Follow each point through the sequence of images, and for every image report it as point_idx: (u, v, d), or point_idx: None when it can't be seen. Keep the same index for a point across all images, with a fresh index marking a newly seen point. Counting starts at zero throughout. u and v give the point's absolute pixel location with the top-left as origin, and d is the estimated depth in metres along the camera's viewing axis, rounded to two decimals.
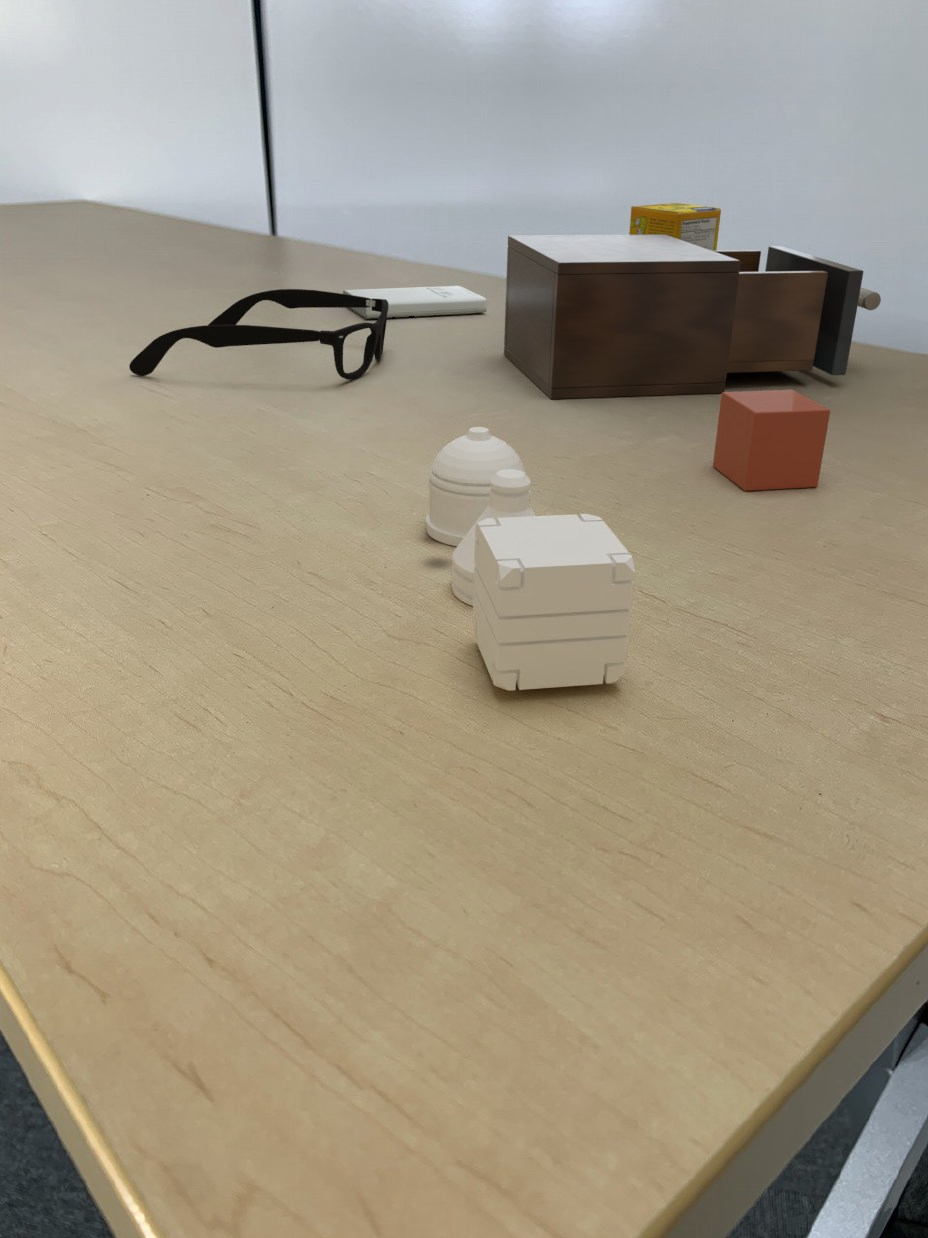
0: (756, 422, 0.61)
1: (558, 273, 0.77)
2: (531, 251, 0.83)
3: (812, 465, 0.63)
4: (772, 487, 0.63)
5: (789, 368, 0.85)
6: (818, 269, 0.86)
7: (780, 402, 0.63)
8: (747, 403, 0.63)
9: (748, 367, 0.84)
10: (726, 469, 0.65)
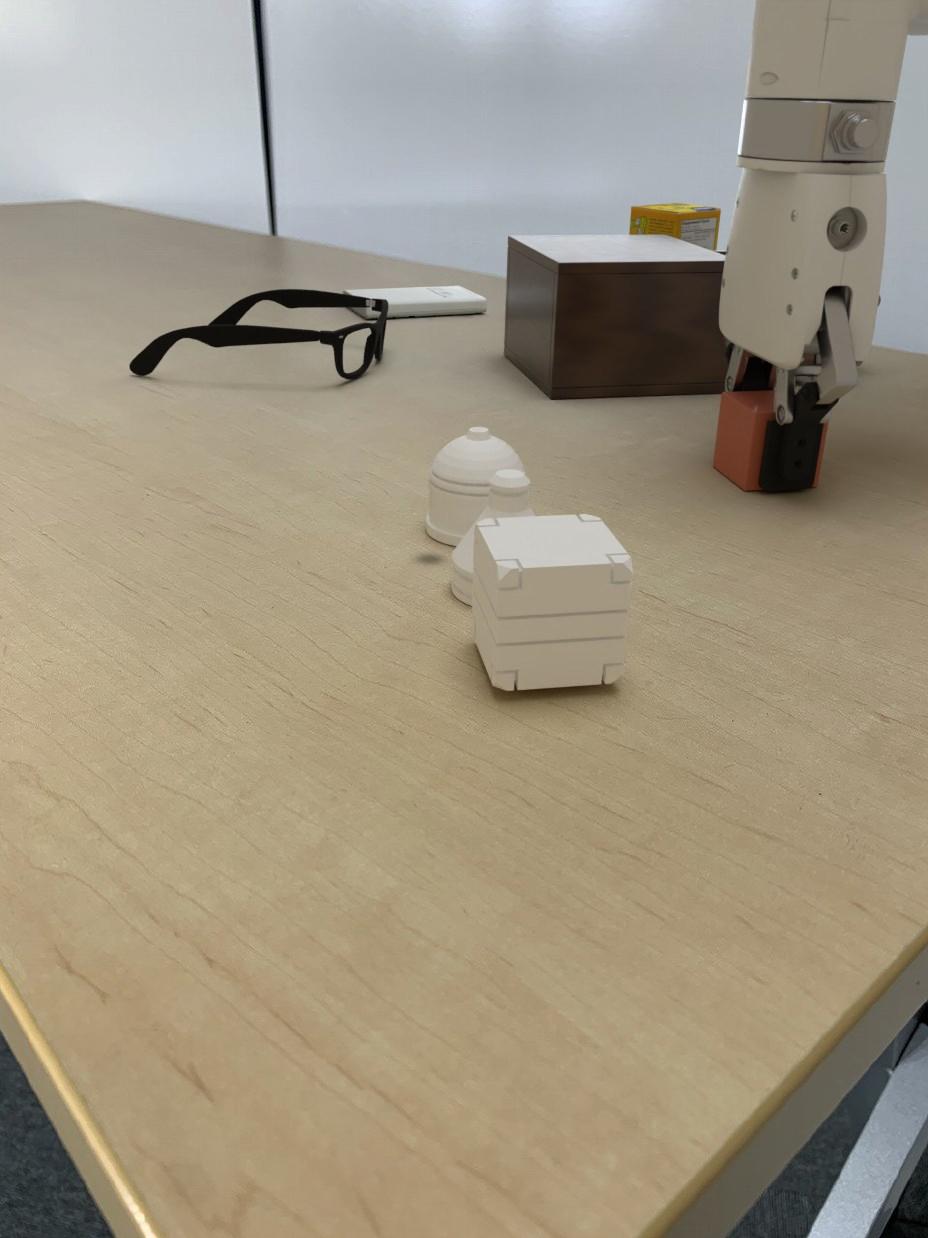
0: (756, 422, 0.61)
1: (558, 273, 0.77)
2: (531, 251, 0.83)
3: None
4: None
5: None
6: None
7: None
8: (747, 403, 0.63)
9: None
10: (726, 469, 0.65)
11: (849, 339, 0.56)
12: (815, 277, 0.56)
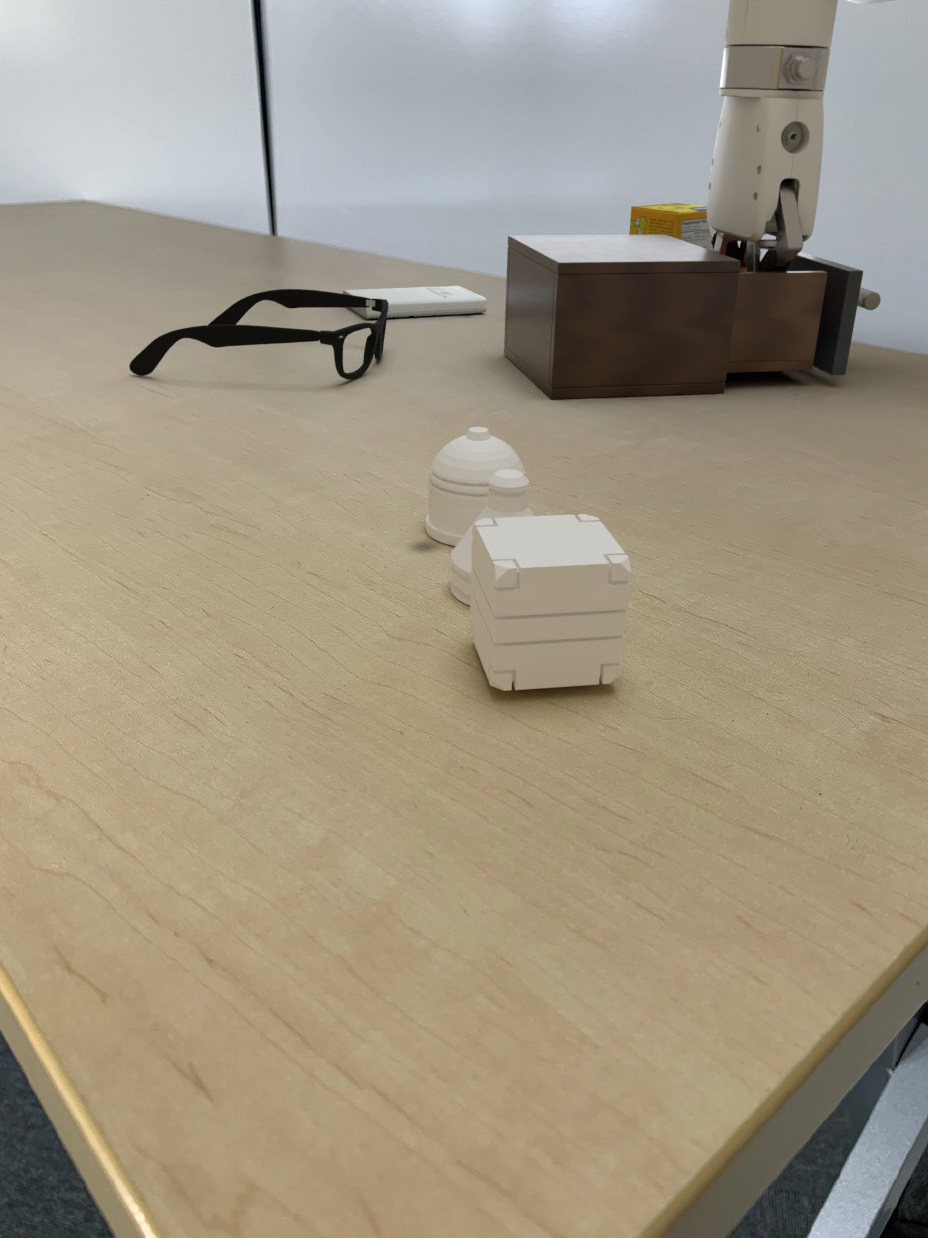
0: None
1: (558, 273, 0.77)
2: (531, 251, 0.83)
3: None
4: None
5: (789, 368, 0.85)
6: (818, 269, 0.86)
7: None
8: None
9: (748, 367, 0.84)
10: None
11: (797, 216, 0.80)
12: (773, 171, 0.79)
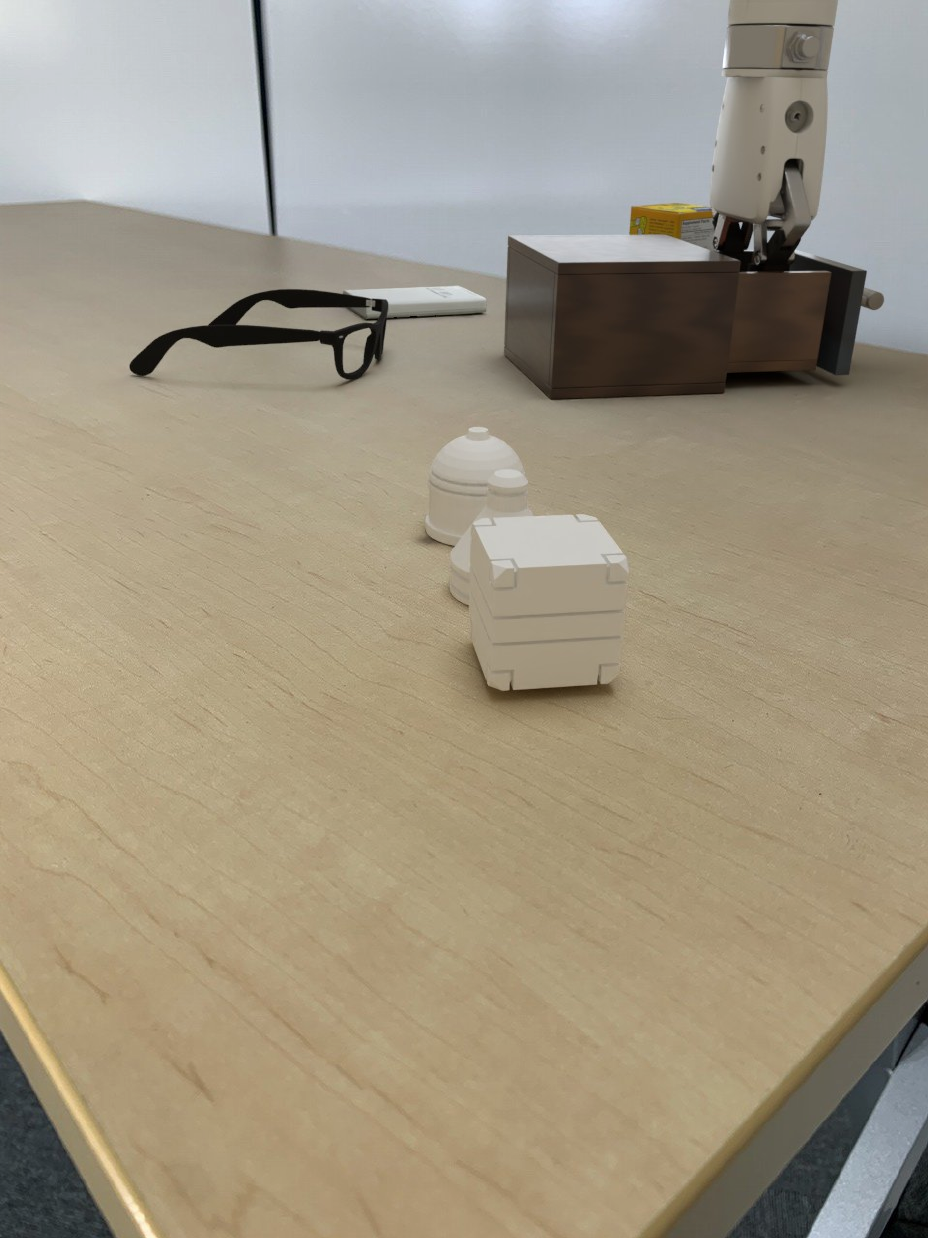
0: None
1: (558, 273, 0.77)
2: (531, 251, 0.83)
3: None
4: None
5: (792, 368, 0.85)
6: (821, 269, 0.86)
7: None
8: None
9: (751, 367, 0.84)
10: None
11: (803, 193, 0.79)
12: (777, 151, 0.78)
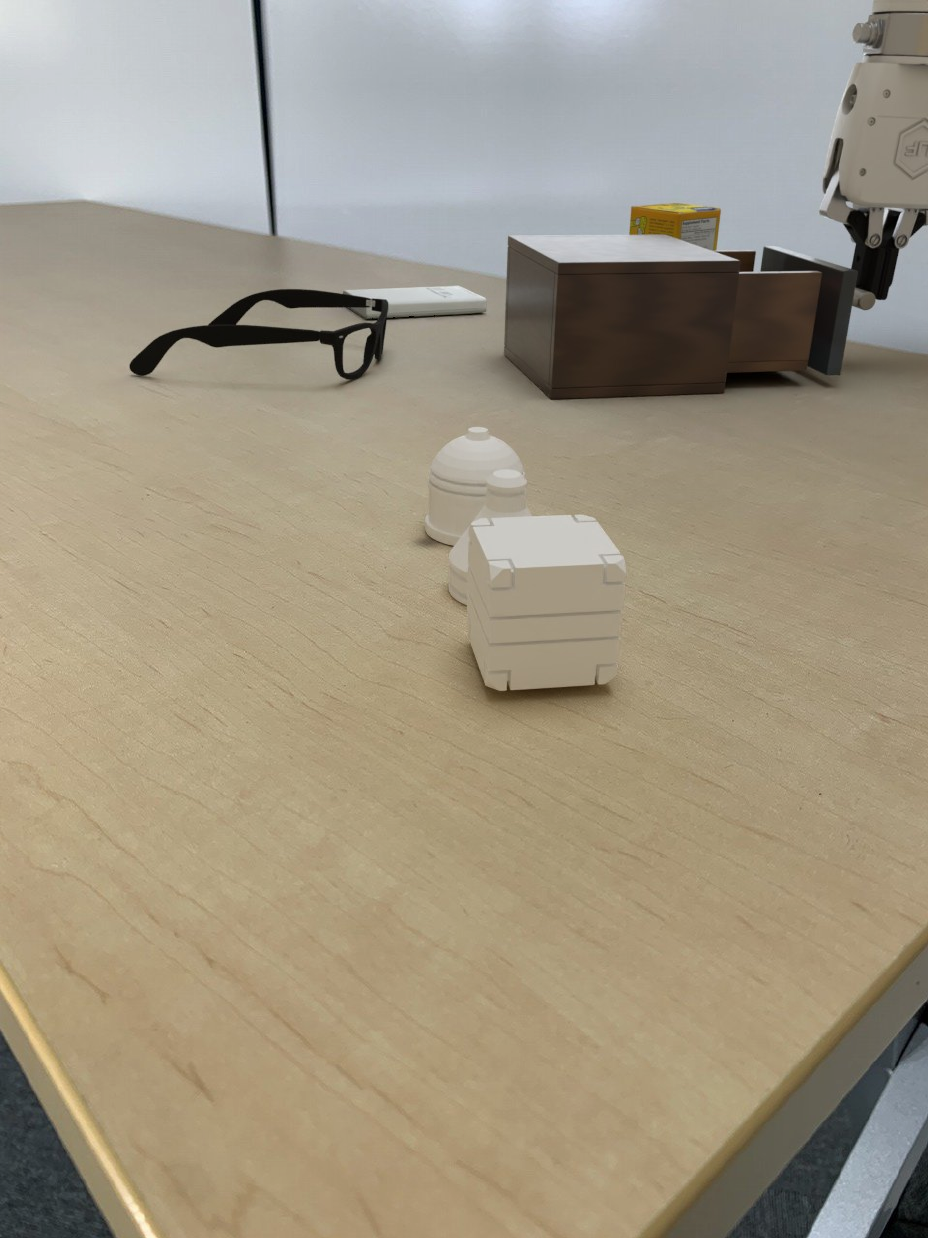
0: None
1: (558, 273, 0.77)
2: (531, 251, 0.83)
3: None
4: None
5: (784, 368, 0.85)
6: (813, 269, 0.86)
7: None
8: None
9: (742, 367, 0.84)
10: None
11: (835, 184, 0.85)
12: (833, 131, 0.85)
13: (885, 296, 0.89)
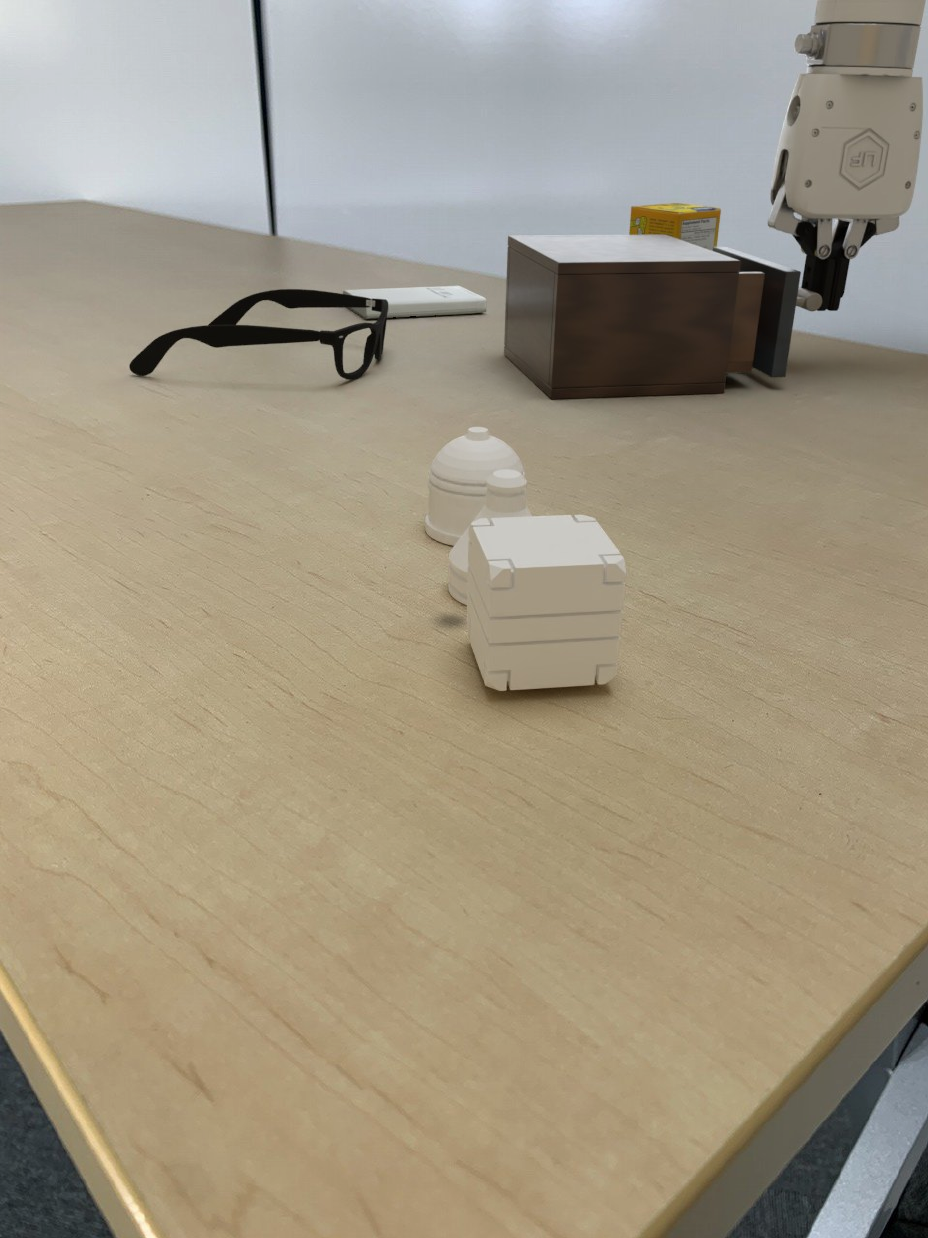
0: None
1: (558, 273, 0.77)
2: (531, 251, 0.83)
3: None
4: None
5: (728, 370, 0.84)
6: (758, 270, 0.85)
7: None
8: None
9: None
10: None
11: (782, 196, 0.84)
12: (779, 142, 0.84)
13: (837, 307, 0.88)
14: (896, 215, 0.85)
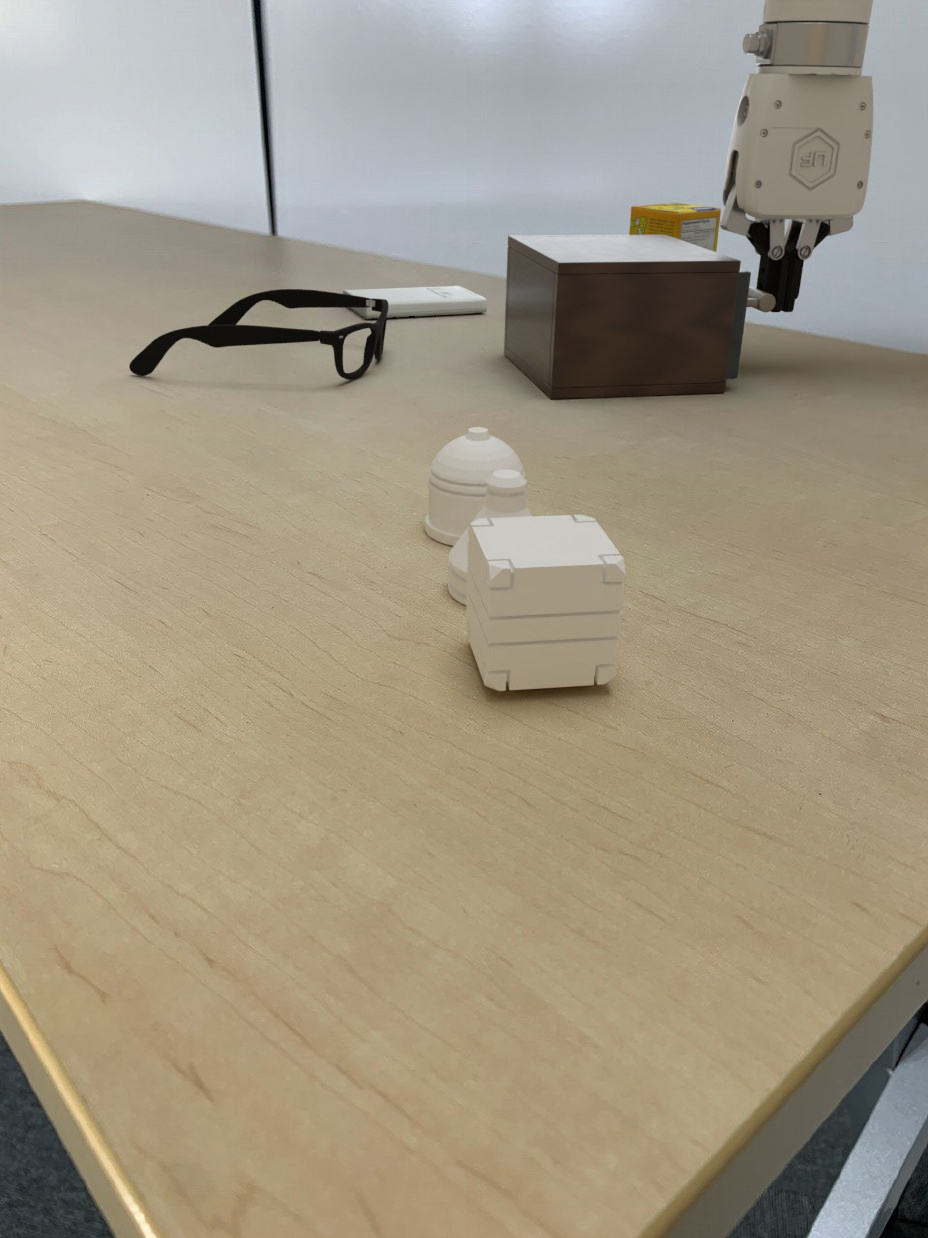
0: None
1: (558, 273, 0.77)
2: (531, 251, 0.83)
3: None
4: None
5: None
6: None
7: None
8: None
9: None
10: None
11: (734, 197, 0.84)
12: (730, 143, 0.84)
13: (791, 308, 0.87)
14: (849, 215, 0.84)
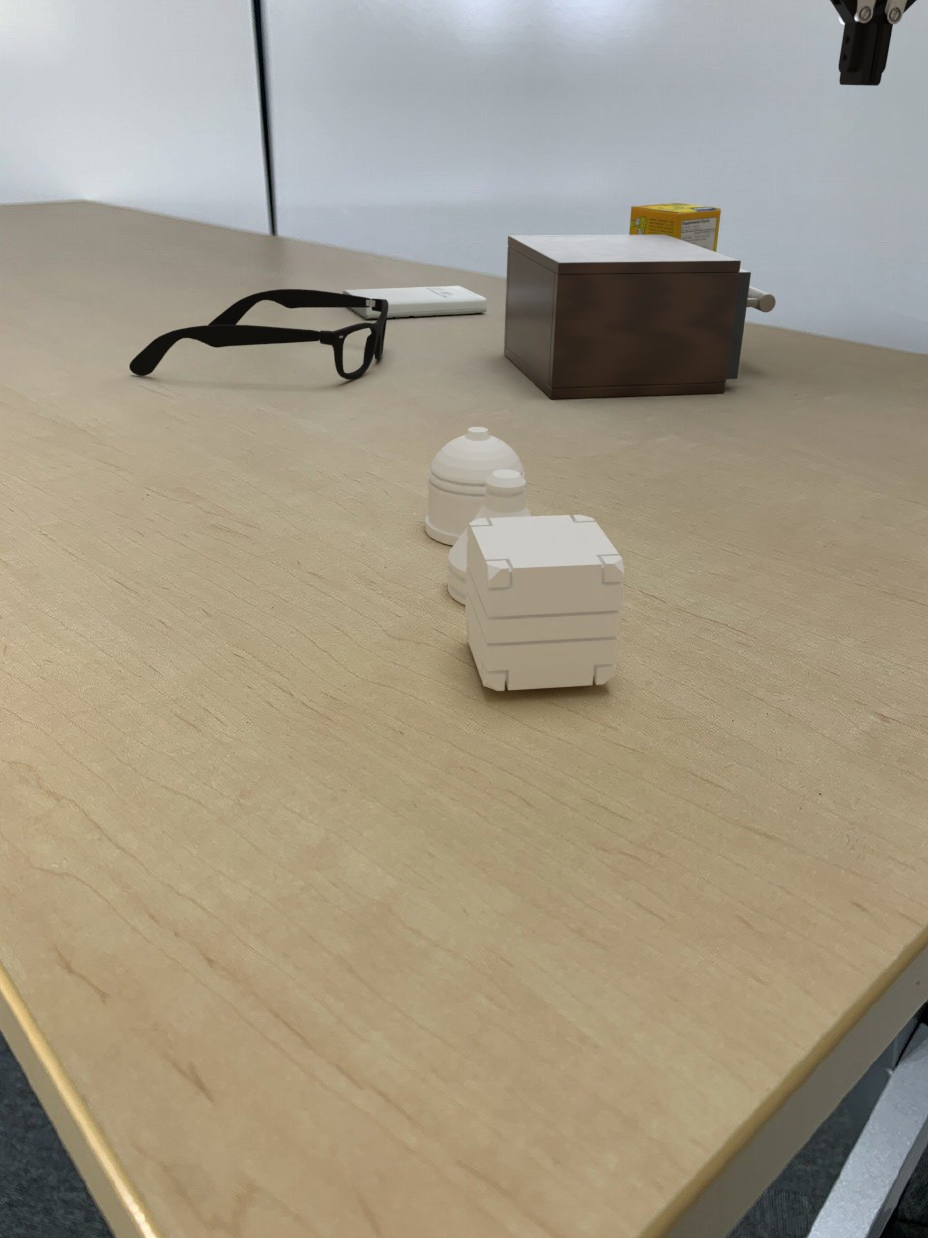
0: None
1: (558, 273, 0.77)
2: (531, 251, 0.83)
3: None
4: None
5: None
6: None
7: None
8: None
9: None
10: None
11: None
12: None
13: (878, 80, 0.81)
14: None
